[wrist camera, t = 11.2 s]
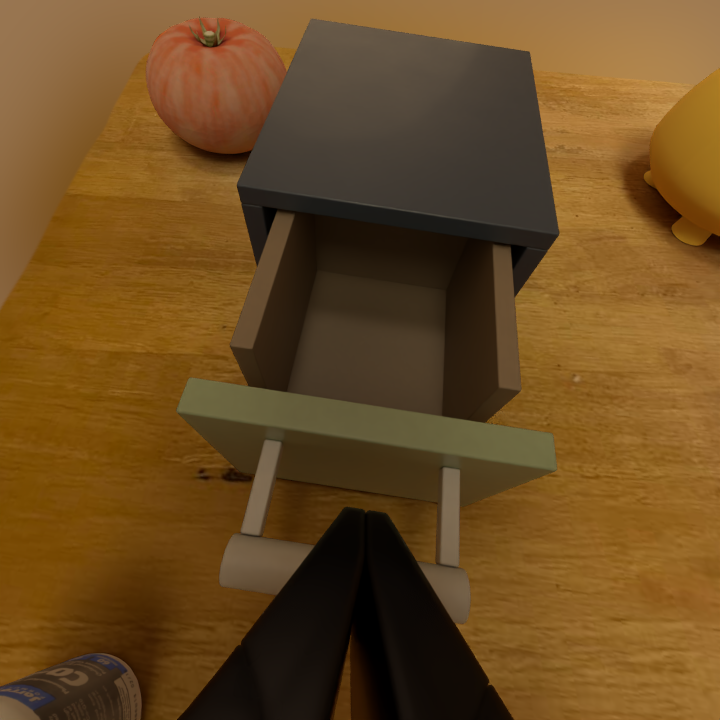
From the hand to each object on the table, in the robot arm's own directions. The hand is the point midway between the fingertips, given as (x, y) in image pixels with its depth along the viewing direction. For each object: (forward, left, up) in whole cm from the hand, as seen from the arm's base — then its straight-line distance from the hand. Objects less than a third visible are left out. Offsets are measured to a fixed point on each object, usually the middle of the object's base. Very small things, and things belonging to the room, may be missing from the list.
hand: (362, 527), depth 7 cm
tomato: (+24, +24, -13) cm, 36 cm away
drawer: (+7, +2, -12) cm, 14 cm away
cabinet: (+18, +7, -13) cm, 23 cm away
